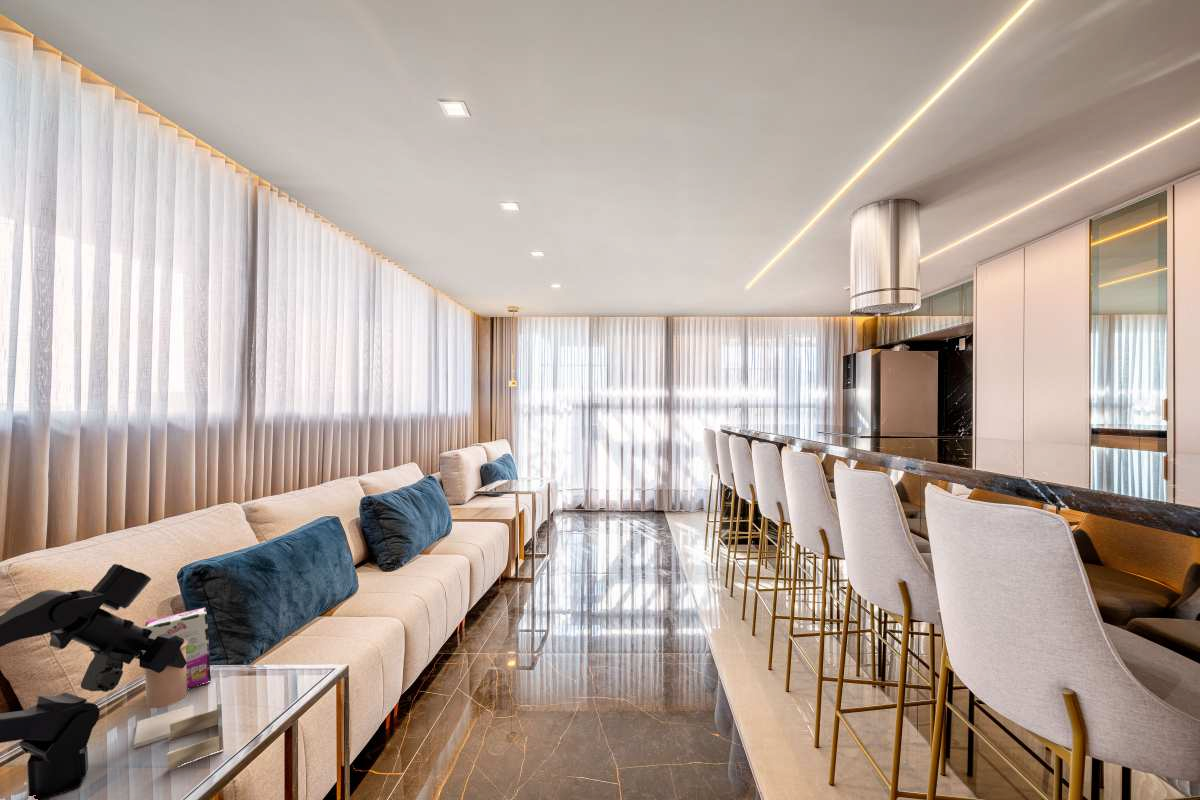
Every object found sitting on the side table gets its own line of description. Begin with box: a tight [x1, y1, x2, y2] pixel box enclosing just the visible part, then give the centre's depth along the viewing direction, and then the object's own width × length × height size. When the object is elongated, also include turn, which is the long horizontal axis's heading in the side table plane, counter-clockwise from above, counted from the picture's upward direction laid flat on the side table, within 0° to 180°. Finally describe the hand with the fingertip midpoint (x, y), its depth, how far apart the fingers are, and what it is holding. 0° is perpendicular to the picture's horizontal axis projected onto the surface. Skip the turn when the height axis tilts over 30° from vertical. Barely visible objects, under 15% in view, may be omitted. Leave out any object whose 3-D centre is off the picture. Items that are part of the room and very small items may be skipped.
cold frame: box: [167, 677, 224, 772], centre depth 101 cm, size 8×12×9 cm
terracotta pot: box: [142, 639, 188, 709], centre depth 107 cm, size 7×7×11 cm
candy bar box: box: [144, 607, 212, 690], centre depth 122 cm, size 11×5×16 cm, turn 129°
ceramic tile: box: [132, 704, 195, 749], centre depth 107 cm, size 9×9×1 cm
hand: (173, 662), depth 108 cm, fingers closed on terracotta pot, 6 cm apart
